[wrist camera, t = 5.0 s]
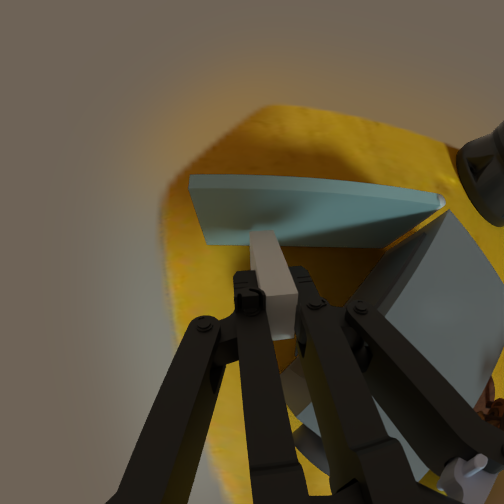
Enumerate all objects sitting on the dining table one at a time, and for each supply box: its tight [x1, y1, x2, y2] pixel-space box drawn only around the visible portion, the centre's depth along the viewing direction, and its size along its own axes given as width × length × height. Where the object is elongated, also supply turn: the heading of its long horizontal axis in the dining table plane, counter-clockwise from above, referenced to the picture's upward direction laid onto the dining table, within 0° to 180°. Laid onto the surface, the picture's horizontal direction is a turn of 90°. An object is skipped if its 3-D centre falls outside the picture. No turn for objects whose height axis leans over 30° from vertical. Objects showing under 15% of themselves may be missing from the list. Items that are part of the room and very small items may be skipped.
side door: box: [188, 174, 446, 248], centre depth 22 cm, size 19×2×11 cm, turn 90°
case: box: [280, 210, 504, 482], centre depth 18 cm, size 20×12×11 cm, turn 135°
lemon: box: [419, 470, 447, 496], centre depth 15 cm, size 6×6×8 cm
